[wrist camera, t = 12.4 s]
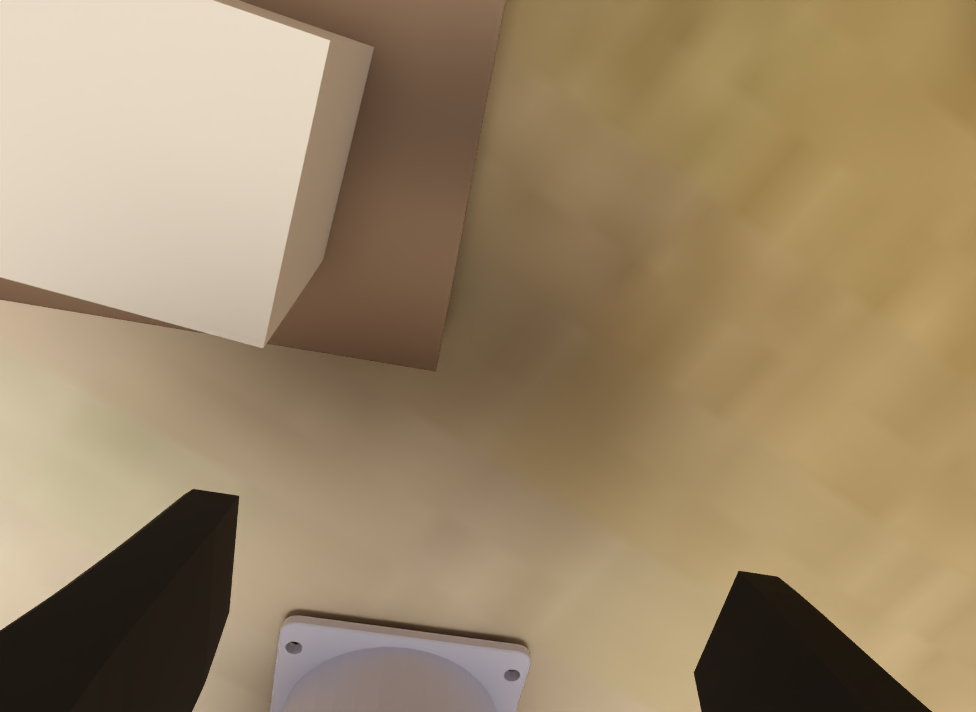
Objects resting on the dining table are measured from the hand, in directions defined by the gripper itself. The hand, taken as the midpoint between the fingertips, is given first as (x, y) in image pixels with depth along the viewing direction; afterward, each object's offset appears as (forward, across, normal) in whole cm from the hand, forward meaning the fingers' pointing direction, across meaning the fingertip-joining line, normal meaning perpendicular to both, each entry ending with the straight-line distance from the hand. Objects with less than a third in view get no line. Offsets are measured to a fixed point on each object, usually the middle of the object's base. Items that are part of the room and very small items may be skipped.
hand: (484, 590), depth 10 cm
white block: (+7, +6, -5) cm, 10 cm away
